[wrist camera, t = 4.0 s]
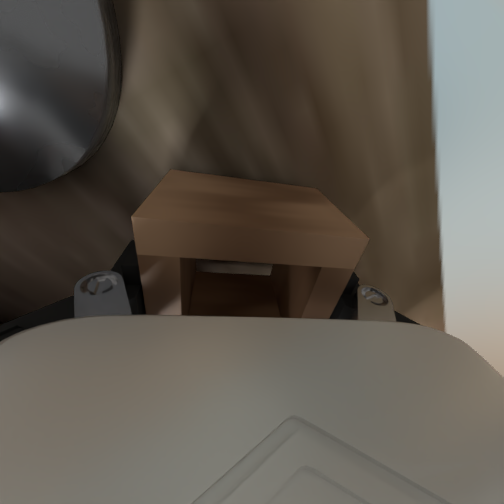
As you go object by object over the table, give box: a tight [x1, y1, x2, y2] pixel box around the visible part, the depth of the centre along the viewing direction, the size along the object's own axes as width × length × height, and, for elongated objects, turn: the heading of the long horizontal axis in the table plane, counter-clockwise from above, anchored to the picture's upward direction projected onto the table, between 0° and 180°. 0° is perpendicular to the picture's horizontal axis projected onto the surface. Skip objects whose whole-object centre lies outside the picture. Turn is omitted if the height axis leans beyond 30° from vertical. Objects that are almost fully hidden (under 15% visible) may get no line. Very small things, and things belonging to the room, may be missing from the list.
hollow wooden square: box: [131, 169, 370, 319], centre depth 10 cm, size 7×7×5 cm
